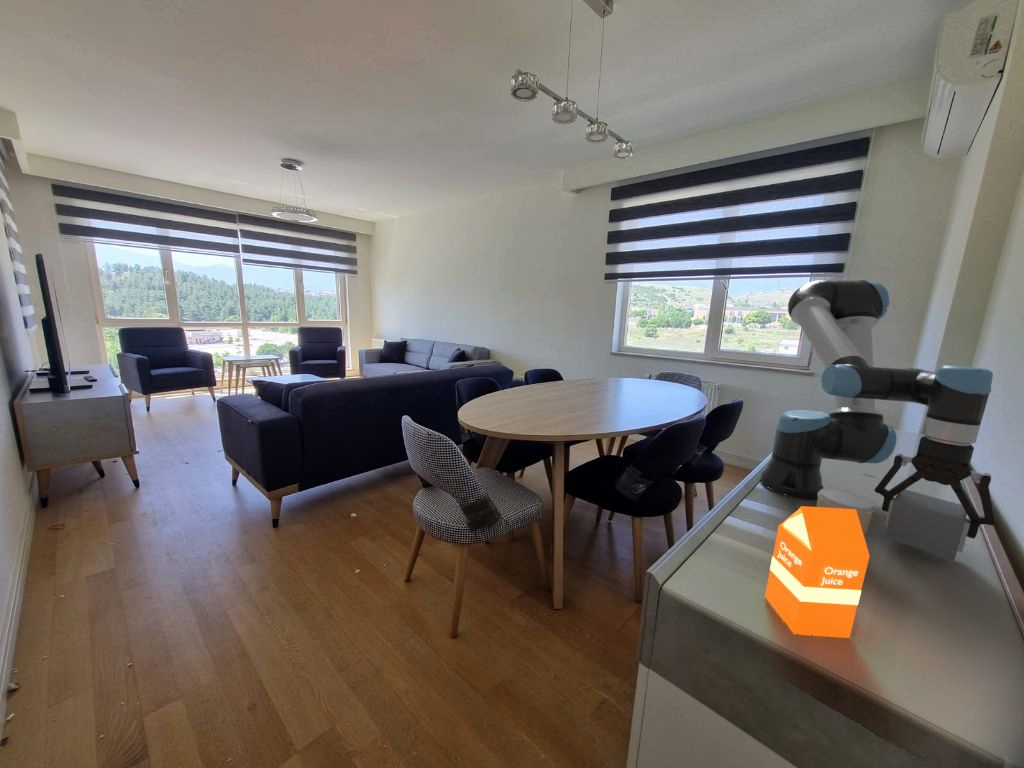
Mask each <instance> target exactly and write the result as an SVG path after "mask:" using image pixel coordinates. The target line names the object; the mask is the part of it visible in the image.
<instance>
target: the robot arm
mask: <svg viewBox="0 0 1024 768" xmlns="http://www.w3.org/2000/svg"><path fill="white" fill-rule="evenodd" d="M889 294H890V293H889V291H888V290H887V288H886V287H885V285H883V284H882V283H879V282H878V281H870V280H864V279H863V280H862V279H859V280H841V279H840V280H837V279H836V280H835V279H834V280H833V279H817V280H812V281H808V282H805V284H803V285H801V286H800V287H799V288H797V289H796V290H795V291H794V292H793V293H792V295H791V296H790V298H789V301H788V303H787V313H788V315H789V317H790V319H791V320H792V322H793V323H794V324H795V325H798V326H800V327H801V330H802V332H803V333H804V335H805V336H806V338H807V340H808V341H809V343H810V345H811V346H812V348H813V350H814V351H815V353H816V355H817V357H818V358H819V360H820V361H821V363H822V365H823V367H824V368H825V369H824V370H823V372H822V375H821V378H820V381H821V388H822V390H823V391H824V392H825V393H826V394H828V395H830V396H834V409H833V410H831V411H830V412H829V413H826V412H823V411H818V410H810V409H795V410H792V409H791V410H787V411H785V412H783V413H781V415H780V416H779V418H778V421H777V424H776V426H775V427H776V429H775V430H776V431H775V435H774V436H775V437H774V442H773V447H772V452H771V453H772V454H771V458H770V459H769V461H768V463H767V465H766V467H765V468H764V470H763V471H762V472H761V473H760V474H761V475H760V480H761V481H760V483H761V482H762V483H763V484H764V485H765V486H767V487H769V488H771V489H773V490H775V491H777V492H779V493H778V494H780V493H782V494H781V495H783V494H786V495H788V497H790V496H792V497H791V498H794V497H795V499H799V498H802V500H807V499H808V500H812V501H813V500H816V501H817V500H818V496H817V495H818V492H820V490H821V489H825V488H824V486H823V481H822V474H821V465H822V461H823V459H826V460H827V459H828V460H835V461H844V462H845V461H846V462H854V463H858V464H879V463H883V462H885V461H887V460H888V459H889V457H890V456H892V454H893V453H894V452H895V448H896V445H897V439H898V437H897V432H896V430H895V429H894V427H893V426H892V425H890V424H888V423H887V422H884V414H883V413H882V412H880V411H878V410H877V409H876V400H880V401H881V400H882V401H893V402H903V403H914V404H919V405H923V406H927V411H926V414H925V419H924V423H923V427H922V431H921V433H922V434H923V436H921V437H920V440H919V442H918V443H919V444H918V447H917V450H916V451H917V452H916V454H915V456H914V457H911V456H905V455H903V454H901V453H898V454H896V455H895V456H894V458H893V459H894V460H893V463H892V464H893V465H892V466H891V467H890V468H889V470H888V471H887V473H885V475H884V476H883V478H882V479H881V481H879V483H878V484H877V486H876V487H875V488H874V492H875V493H877V494H879V495H881V496H883V502H882V506H881V510H882V511H883V512H886V513H887V514H886V520H885V522H884V528H887V526H888V522H889V518H890V514H891V510H892V506H893V502H894V499H895V497H896V496H897V494H899V493H900V492H902V491H903V490H907V488H910V486H912V485H913V484H915V483H917V482H919V481H920V480H922V479H923V480H925V481H927V482H934V483H938V484H940V485H943V486H950V487H951V489H952V490H953V492H954V493H955V496H956V497H957V499H958V501H959V502H960V503H959V504H961V505H962V506H963V508H964V510H965V512H966V513H967V517H968V518H967V517H966V521H965V524H964V528H963V532H962V535H961V539H960V542H959V546H958V549H957V552H959V553H963V551H964V548H965V547H964V546H965V544H966V541H967V540H966V539H967V537H968V538H969V539H975V538H976V537H977V534H978V531H979V528H980V526H981V525H988V526H994V525H996V516H995V512H994V511H995V510H994V506H993V502H992V497H991V492H990V484H991V481H992V475H991V474H990V473H987V472H984V473H982V472H978V471H975V470H972V469H971V467H970V466H971V465H970V464H971V461H972V457H973V454H974V450H975V447H974V446H973V445H972V444H976V441H977V439H978V436H979V432H980V428H981V423H982V421H983V416H984V413H985V410H986V408H987V403H988V400H989V398H990V397H989V396H990V393H991V392H992V385H993V383H992V382H993V378H994V374H993V371H991V370H990V369H987V368H984V367H982V368H981V367H974V366H973V367H972V366H962V365H951V364H947V365H941V366H939V367H938V369H937V370H936V372H935V371H929V370H924V369H923V368H911V367H904V368H892V367H878V366H874V353H873V352H874V350H873V348H874V347H873V328H874V327H875V326H877V325H878V324H879V321H880V320H881V319H882V318H883V317H884V316H885V315H886V313H887V312H888V307H889V306H890V295H889ZM909 463H911V464H912V465H913V468H915V469H916V471H914V473H912V474H911V475H910V476H908V477H907V478H905V479H904V480H903V481H901V482H899V483H898V484H896V485H895V486H893V487H892V488H890V489H889V490H888V489H886V488H887V486H888V485H889V483H890V482H891V481H892V479H893V478H894V477H895V475H896V474H897V473H898V472H899V470H900V469H901V468H902V467H905V466H906V467H907V465H908V464H909ZM968 477H970V478H971V477H972V478H973V482H974V483H975V484H978V491H979V496H980V501H981V506H982V511H983V515H984V516H983V515H979V513H978V511H977V509H976V508H975V506H974V503H973V502H972V500H971V499H970V497H969V495H968V494H967V492H966V490H965V488H964V486H963V484H962V482H961V481H963V480H965V479H967V478H968ZM762 483H761V484H762ZM763 484H762V485H763ZM764 485H763V486H764ZM765 486H764V487H765ZM767 487H766V488H767ZM769 488H768V489H769ZM771 489H770V490H771ZM773 490H772V491H773ZM775 491H774V492H775ZM777 492H776V493H777ZM786 495H785V496H786Z"/></svg>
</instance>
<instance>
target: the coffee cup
mask: <svg viewBox="0 0 1024 768" xmlns="http://www.w3.org/2000/svg"><path fill="white" fill-rule="evenodd" d="M817 496H818V499H816V501H817V502H816V507H823V508H840V509H856V511H857V515H858V518H859V522H860V525H861V528H862V532H863V535H864V537H865V535H866V534H867V532H868V531H867V530H868V528H869V524H870V522H871V518H872V515H873V514H874V512H875V506H874V503H873V502H871V501H870V500H869V499H867V498H865V497H863V496H862V495H859V494H857V493H854V492H851V491H847V490H843V489H837V488H831V487H829V488H828V487H827V488H824V489H821V490H820V492H818V495H817Z"/></svg>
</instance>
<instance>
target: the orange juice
mask: <svg viewBox="0 0 1024 768" xmlns="http://www.w3.org/2000/svg"><path fill="white" fill-rule="evenodd" d="M774 544H775V545H774V548H773V554H772V557H771V560H770V567H769V574H768V580H767V584H766V590H765V594H764V595H765V596H764V598H765V597H766V598H767V600H768V601H769V603H770V604H771V605H772V606H773V608H774V609H775V610H776V612H777V613H778V614H779V616H780V617H781V618H782V620H783V621H784V622H785V623H786V624H787V625H788V627H789V628H790V630H791V631H792V632H793V633H792V632H791V631H790V630H789V631H790V632H791V633H792V634H793V635H796V634H799V636H811V635H813V636H814V637H829V638H831V637H832V638H844V639H846V638H847V639H850V636H851V632H852V628H853V625H854V620H855V616H856V613H857V609H858V608H857V607H858V606H859V601H860V598H861V594H862V588H863V585H864V584H863V583H864V580H865V576H866V572H867V569H868V564H869V560H870V557H871V555H870V552H869V549H868V545H867V542H866V538H865V536H864V535H863V532H862V528H861V525H860V522H859V518H858V515H857V511H856V509H840V508H823V507H817V506H803V505H801V506H800V507H799V509H798V510H796V511H795V512H793V513H792V514H791V515H790V516H789V517H788V518H786V519H785V520H784V521H783V522H782V523H780V524H778V528H777V533H776V538H775V543H774ZM779 616H778V617H779ZM782 620H781V621H782ZM783 621H782V622H783ZM784 622H783V623H784ZM788 627H787V628H788ZM789 628H788V629H789Z"/></svg>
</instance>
